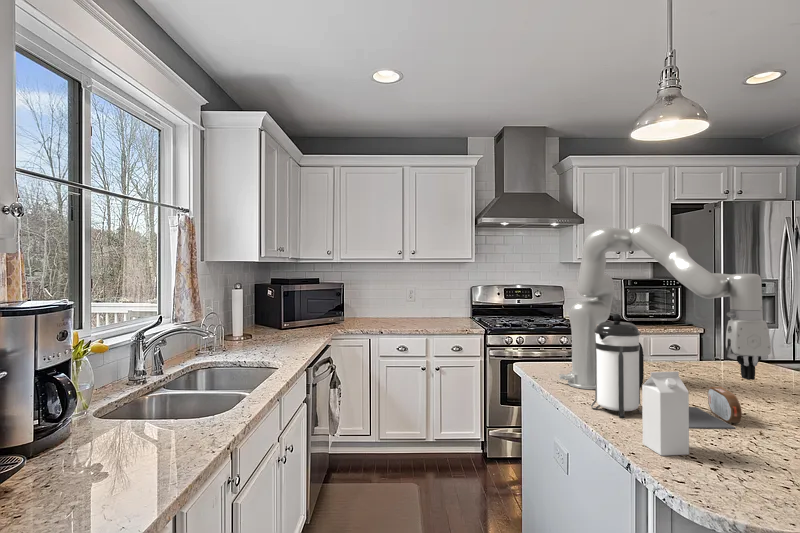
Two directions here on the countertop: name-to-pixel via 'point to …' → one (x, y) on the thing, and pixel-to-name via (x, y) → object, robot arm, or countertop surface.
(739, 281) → the robot arm
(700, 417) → the rubber mat
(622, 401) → the coffee press
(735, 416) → the tin
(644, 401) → the milk carton
